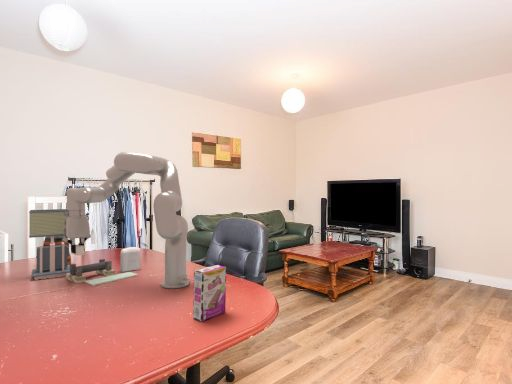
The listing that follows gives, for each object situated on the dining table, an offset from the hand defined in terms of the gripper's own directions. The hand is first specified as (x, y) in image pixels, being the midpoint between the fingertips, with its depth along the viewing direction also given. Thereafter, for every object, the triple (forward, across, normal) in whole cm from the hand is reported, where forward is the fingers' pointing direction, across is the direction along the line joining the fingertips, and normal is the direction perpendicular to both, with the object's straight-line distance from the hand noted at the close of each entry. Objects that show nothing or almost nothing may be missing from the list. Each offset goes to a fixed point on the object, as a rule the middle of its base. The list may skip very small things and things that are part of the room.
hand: (77, 252), depth 148 cm
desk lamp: (+13, -5, +19) cm, 23 cm away
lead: (+11, +6, +1) cm, 13 cm away
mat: (+14, +11, -10) cm, 21 cm away
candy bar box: (+16, +11, -79) cm, 81 cm away
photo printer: (+14, +25, -2) cm, 29 cm away
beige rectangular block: (+1, 0, 0) cm, 1 cm away
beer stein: (+12, +5, +44) cm, 46 cm away
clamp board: (+13, +6, +1) cm, 15 cm away
